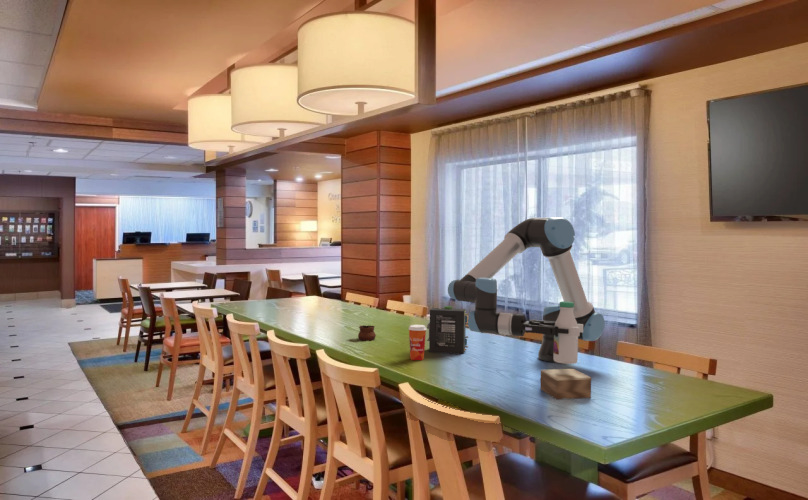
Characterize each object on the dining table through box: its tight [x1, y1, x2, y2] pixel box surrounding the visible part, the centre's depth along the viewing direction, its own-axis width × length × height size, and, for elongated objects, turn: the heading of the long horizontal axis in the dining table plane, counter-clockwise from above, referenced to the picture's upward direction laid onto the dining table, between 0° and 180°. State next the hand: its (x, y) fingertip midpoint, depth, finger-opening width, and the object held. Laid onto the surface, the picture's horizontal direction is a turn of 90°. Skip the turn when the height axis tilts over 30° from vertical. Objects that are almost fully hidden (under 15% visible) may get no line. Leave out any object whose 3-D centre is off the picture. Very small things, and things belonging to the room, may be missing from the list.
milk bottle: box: [553, 300, 579, 365], centre depth 187 cm, size 8×8×20 cm
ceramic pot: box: [349, 325, 377, 343], centre depth 280 cm, size 18×18×7 cm
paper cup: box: [408, 324, 427, 361], centre depth 236 cm, size 8×8×14 cm
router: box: [426, 305, 470, 355], centre depth 253 cm, size 8×18×20 cm, turn 78°
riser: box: [540, 368, 592, 400], centre depth 188 cm, size 12×12×7 cm
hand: (581, 330), depth 185 cm, fingers closed on milk bottle, 7 cm apart
